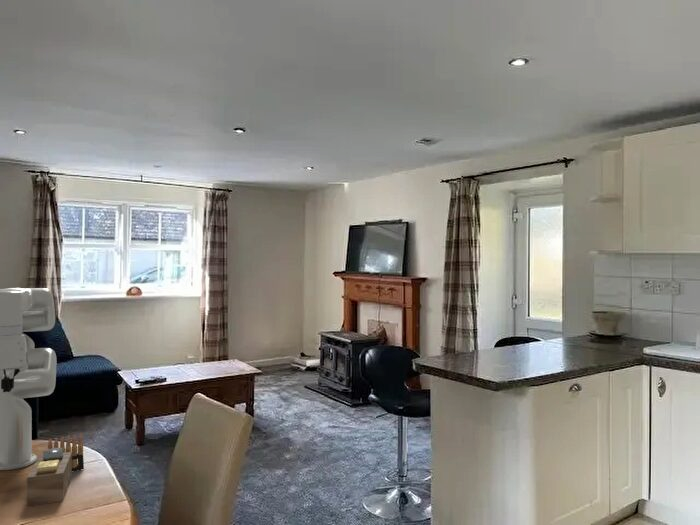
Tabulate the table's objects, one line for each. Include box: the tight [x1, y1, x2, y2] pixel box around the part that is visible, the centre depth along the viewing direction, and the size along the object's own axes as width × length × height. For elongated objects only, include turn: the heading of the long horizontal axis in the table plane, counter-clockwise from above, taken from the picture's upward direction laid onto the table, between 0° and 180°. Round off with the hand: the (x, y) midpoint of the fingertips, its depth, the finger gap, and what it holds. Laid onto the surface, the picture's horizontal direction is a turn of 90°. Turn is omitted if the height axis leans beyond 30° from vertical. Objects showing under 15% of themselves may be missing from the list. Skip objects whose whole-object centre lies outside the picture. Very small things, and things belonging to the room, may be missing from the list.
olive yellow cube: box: [37, 460, 59, 474], centre depth 153 cm, size 5×5×5 cm
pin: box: [42, 447, 63, 461], centre depth 161 cm, size 5×5×10 cm
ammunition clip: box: [47, 432, 85, 472], centre depth 171 cm, size 11×2×12 cm, turn 125°
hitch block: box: [26, 451, 73, 507], centre depth 157 cm, size 18×9×8 cm, turn 21°
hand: (7, 391), depth 160 cm, fingers closed
